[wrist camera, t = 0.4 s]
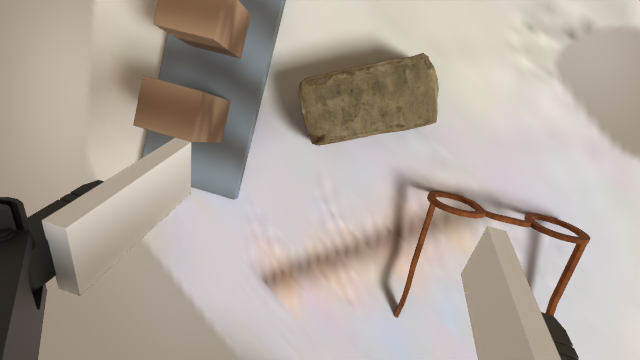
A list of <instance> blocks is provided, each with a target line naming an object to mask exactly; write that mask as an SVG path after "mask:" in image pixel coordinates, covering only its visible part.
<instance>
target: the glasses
mask: <svg viewBox="0 0 640 360" xmlns="http://www.w3.org/2000/svg"><path fill="white" fill-rule="evenodd" d="M435 197H444V198H450V199H454V200H457V201H460V202H463V203H465V204H467V205H469V206H471V207H472V208H473V209H475V211H466V210H461V209H457V208H454V207H451V206H448V205H446V204H443V203H442V202H440V201H438V200H437V199H436V198H435ZM427 199H428V201H429V202H430V206H429V209H428V212H427V215H426V218H425V221H424V225H423V228H422V231H421V234H420V237H419V240H418V243H417V246H416V249H415V253H414V256H413V259H412V262H411V265H410V270H409V274H408V278H407V282H406V285H405V288H404V292H403V295H402V298H401V300H400V302H399V305H398V307H397V309H396V312H395V315H394V316H395V317H397V318H398V316H399V314H400V312H401V310H402V308H403V306H404V303H405V301H406V298H407V295H408V292H409V290H410V287H411V283H412V279H413V275H414V272H415V268H416V265H417V262H418V259H419V256H420V253H421V250H422V246H423V243H424V240H425V237H426V234H427V231H428V228H429V225H430V222H431V219H432V216H433V213H434V210H435V207H437V208H439V209H442V210H444V211H446V212H449V213H452V214H456V215H459V216H464V217H469V218H484V217H485V216H486V217H488V218H491V219H494V220H497V221H501V222H505V223H510V224H514V225H518V226H522V227H532V228H533V229H535V230H537V231H539V232H541V233H544V234H546V235H548V236H551V237H554V238H557V239H560V240H563V241H567V242H571V243H576V246H575V248H574V250H573V252H572V254H571V256H570V259H569V261H568V263H567V265H566V267H565V269H564V271H563V273H562V275H561V277H560V279H559V281H558V283H557V286H556V288H555V290H554V292H553V294H552V296H551V298H550V300H549V304H548V307H547V310H546V313H545V314H549V315H552V316H554V313H555V310H556V307H557V304H558V302H559V300H560V298H561V296H562V294H563V292H564V290H565V288H566V286H567V284H568V282H569V280H570V278H571V276H572V274H573V272H574V270H575V267H576V265H577V263H578V261H579V259H580V257H581V255H582V253H583V251H584V249H585V247H586V245H587V244H588V243H589V240H590V237H589V235H588V234H586V233H585V232H584V231H582V230H581V229H579V228H577V227H575V226H573V225H571V224H569V223H566V222H564V221H561V220H558V219H555V218H552V217H548V216H544V215H540V214H534V213H527V214H526V215H525V220H520V219H515V218H511V217H507V216H503V215H499V214H495V213H491V212H488V211H486V210H484V209H483V208H482V207H481V206H480V205H479V204H477V203H476V202H474V201H472V200H470V199H467V198H465V197H462V196H459V195H455V194H451V193H447V192H442V191H431V192H429V194H428V197H427ZM534 220H542V221H546V222H550V223H553V224H556V225H559V226H562V227H564V228H566V229H568V230H570V231H572V232H574V233H575V234H576V235H578V236H579V237H575V236H569V235H565V234H562V233H558V232H555V231H553V230H550V229H548V228H545V227H543V226H541V225H540V224H538V223H537V222H535V221H534Z"/></svg>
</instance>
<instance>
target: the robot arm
mask: <svg viewBox="0 0 640 360" xmlns="http://www.w3.org/2000/svg"><path fill="white" fill-rule="evenodd" d="M190 194H191V142H189V141H185V140H182V139H178V138H174V139H172V140H171V141H169V142H168V143H166V144H164V145H163V146H161V147H160V148H158V149H156V150H155V151H153V152H151V153H150V154H148V155H147V156H145V157H143V158H142V159H140V160H139V161H137V162H135V163H134V164H132V165H131V166H129V167H127V168H126V169H124V170H122V171H121V172H119V173H118V174H116V175H114V176H113V177H111V178H110V179H108V180H106V181H105V182H104V181H100V180H97V181H94V182H91V183H88V184H85V185H82V186H80V187H79V188H77V189H76V190H74V191H72V192H71V193H70V194H67V195H65V196H64V197H62V198H61V199H60V200H57V201H55V202H53V203H52V204H50V205H48V206H47V207H45V208H43V209H41V210H40V211H38V212H36V213H35V214H33V215H32V216H30V217H28V218H27V216H26V212H25V208H24V205H23V203H22V202H21V201H20V200H18V199H15V198H10V197H0V360H38V354H39V347H40V339H41V332H42V324H43V316H44V309H45V302H46V295H47V289H46V284H45V283H47V282H48V281H49V280H50V279H52V278H53V277H54V276H56V280H57V284H58V287H59V289H62V290H65V291H68V292H70V293H74V294H77V295H82V293H84V292H85V291H86V290H87V289H88V288H89V287H90V286H91V285H92V284H93V283H94V282H95V281H97V280H98V279H99V278H100V277H101V276H102V275H103V274H104V273H105V272H106V271H107V270H109V269H110V268H111V266H113V265H114V264H115V263H116V262H117V261H118V260H119V259H120V258H121V257H123V256H124V255H125V254H126V253H127V252H128V251H129V250H130V249H131V248H132V247H133V246H134V245H136V244H137V243H138V242H139V241H140V240H141V239H142V238H143V237H144V236H145V235H146V234H147V233H149V232H150V231H151V230H152V229H153V228H154V227H155V226H156V225H157V224H158V223H159V222H160V221H162V220H163V219H164V218H165V217H166V216H167V215H168V214H169V213H170V212H171V211H172V210H173V209H175V208H176V207H177V206H178V205H179V204H180V203H181V202H182V201H183V200H184V199H185V198H186V197H187V196H189V195H190ZM461 277H462V282H463V287H464V292H465V297H466V302H467V307H468V312H469V317H470V322H471V327H472V331H473V336H474V341H475V346H476V351H477V356H478V360H578V358H579V357H578V355H577V353H576V351H575V349H574V348H572V346H573V345H572V343H571V341H570V339H569V337H568V334H567V332H566V330H565V329H564V328H563V327H562V326H561V325H560V323H559V322H558V321H557V320H556V319H555V317H554V316H552V315H549V314H545V313H542V312H541V311H540V309H539V307H538V304H537V302H536V300H535V297H534V295H533V293H532V290H531V288H530V286H529V283H528V281H527V279H526V276H525V274H524V272H523V269H522V267H521V265H520V262H519V260H518V258H517V255H516V253H515V251H514V248H513V246H512V244H511V241H510V239H509V237H508V234H507V232H506V231H503V230H500V229H496V228H492V227H489V226H487V228H486V230H485V231H484V233H483V235H482V237H481V239H480V240H479V242H478V244H477V246H476V248H475V250H474V251H473V253H472V255H471V257H470V259H469V260H468V262H467V264H466V266H465V268H464V270H463V271H462V273H461Z"/></svg>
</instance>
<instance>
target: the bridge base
mask: <svg viewBox="0 0 640 360" xmlns="http://www.w3.org/2000/svg"><path fill="white" fill-rule="evenodd" d="M285 1H286V0H158V4H157V9H156V14H155V19H154V25H156V26H158V27H159V28H161V29H163V30H165V31H166V32H168V35H167V40H166V45H165V50H164V55H163V60H162V65H161V69H160V74H159V79H154V78H150V77H146V76H143V79H142V84H141V89H140V94H139V99H138V104H137V109H136V114H135V119H134V124H133V125H134V126H137V127H141V128H144V129H148V133H147V138H146V142H145V147H144V152H143V157H145V156H147V155H148V154H150V153H151V152H153V151H155V150H156V149H158V148H160V147H161V146H163V145H164V144H166V143H168V142H169V141H171V140H172V139H174V138H178V139H182V140H185V141H189V142H191V187H193V188H197V189H200V190H203V191H207V192H210V193H213V194H217V195H220V196H223V197H227V198H230V199H236V198H238V194H239V190H240V186H241V181H242V177H243V173H244V169H245V165H246V161H247V157H248V153H249V149H250V145H251V141H252V136H253V132H254V128H255V124H256V120H257V116H258V112H259V108H260V104H261V100H262V95H263V91H264V87H265V83H266V79H267V75H268V71H269V67H270V63H271V59H272V54H273V50H274V46H275V42H276V38H277V34H278V30H279V26H280V22H281V18H282V13H283V9H284V5H285ZM143 157H142V158H143Z"/></svg>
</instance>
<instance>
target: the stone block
mask: <svg viewBox="0 0 640 360" xmlns="http://www.w3.org/2000/svg"><path fill="white" fill-rule="evenodd" d="M438 90H439V88H438V79H437V75H436V72H435V69H434V66H433V65H432V63H431V62H430V60H429V58H428V56H427V55H425V54H424V53H422V54H418V55H415V56H412V57H408V58H403V59H393V60H389V61H384V62H380V63H375V64H370V65H364V66H359V67H354V68H349V69H345V70H340V71H336V72H331V73H328V74H324V75H319V76H315V77H310V78H307V79H304V80H303V81H302V82H301V83H300V85H299V97H300V100H301V109H302V113H303V116H304V120H305V124H306V128H307V132H308V133H309V136H310V140H311V142H312V144H315V145H324V144H330V143H335V142H341V141H347V140H352V139H357V138H361V137H366V136H370V135H376V134H381V133H389V132H397V131H404V130H409V129H413V128H418V127H422V126H426V125H430V124H433V123H436V120H437V112H438V111H437V97H438Z"/></svg>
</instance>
